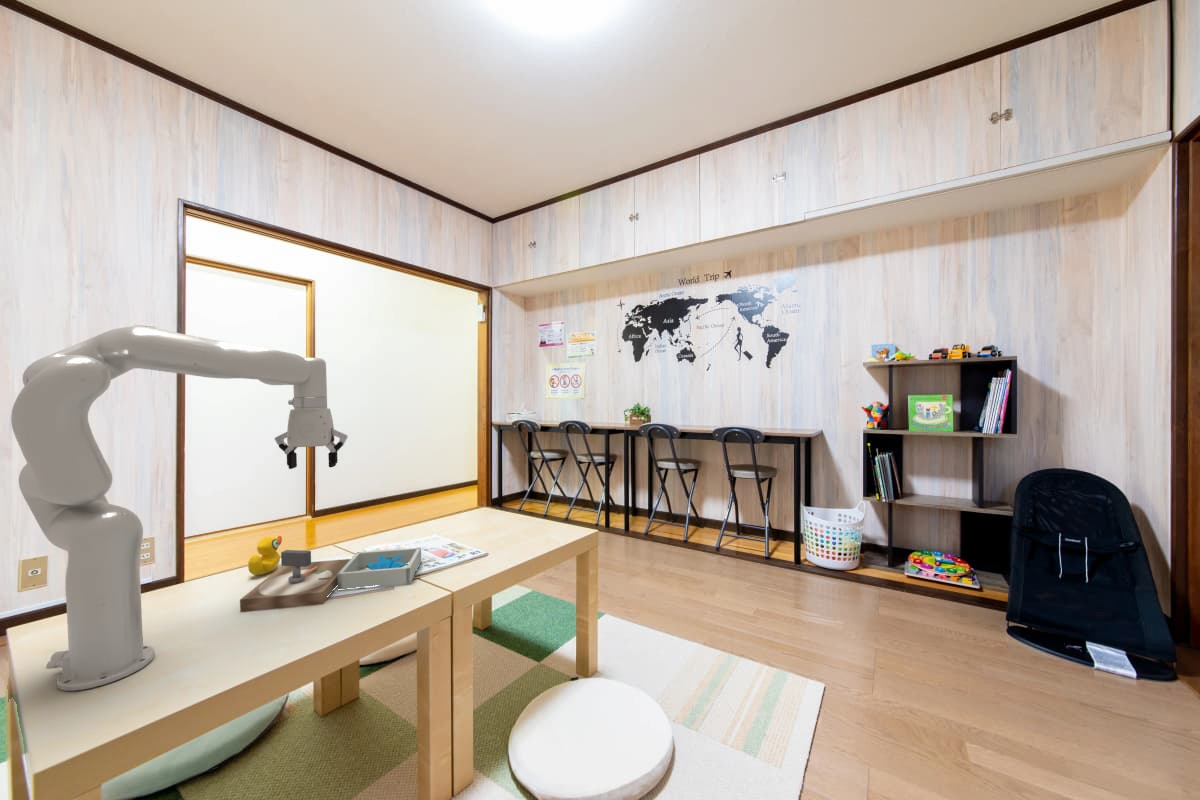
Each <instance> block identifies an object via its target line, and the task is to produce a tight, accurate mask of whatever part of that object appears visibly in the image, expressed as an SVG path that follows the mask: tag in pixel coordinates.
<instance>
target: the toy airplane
mask: <svg viewBox="0 0 1200 800" xmlns="http://www.w3.org/2000/svg"><path fill="white" fill-rule="evenodd" d="M403 556H404V555H402V556H397V557H395V559H392V558H389V559H388V558H386V559H384V558H385V557H383V556H378V558H379V560H380V561H381V562H377V563H370V564H367V566H366V567H368V570H377V569H389V568H401V567H406V565H407V564H406V563H401V562H395V561H397V560H398V559H400V558H402V557H403Z"/></svg>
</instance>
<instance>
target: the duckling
mask: <svg viewBox="0 0 1200 800" xmlns="http://www.w3.org/2000/svg"><path fill="white" fill-rule="evenodd" d="M282 540H283V537H282V536H281V535H278V536H277V537H275V536H266V537H264V538H261V539H260V541H259V542H258V544H257V547H256V550H257V551H256V552H257V553H258V554H254V555H252V556H251V557H250V558H249V559H248V567H247V568H248V572H249V573H250V574H252V575H254V576H262V575H266V574H268V573H270V572H272V571H274V570H275V569H276V568H277V567H278V565H279V562H281V561H280V560H281V554H280V553H279V552H277V550H278V549H279V546H281V544H282ZM259 554H260V555H261V556H260V555H259Z"/></svg>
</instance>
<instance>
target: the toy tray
mask: <svg viewBox="0 0 1200 800" xmlns="http://www.w3.org/2000/svg"><path fill="white" fill-rule="evenodd" d="M402 555H404V556H403V557H402V558H400V559H398V560H397V561H395V562H401V563H408V562H409V564H407V565H406V566H403V567H400V568H389V569H377V570H371V569H369V568H368V567H366V566H367V564H370V563H377V562H381V561H380V560H379V558H378V556H383V557H385V558H384V559H386V558H388V559H389V558H392V559H395V557H397V556H402ZM350 559H351V560H350V561H349V562H348V563H347V564H346V565H345V566H344V567H343V568H342V570H341V571H340V572H339V573H338V574H337V583H338V587H337V590H338V589H347V588H356V587H364V586H373V585H374V586H375V585H380V586H387V587H398V586H406V585H408V586H409V585H411V584H412V581H413V579H414V577H415V576H414V574H415V571H416V569H417V567H418V565H419V564H420V565H421V563H422V548H421V547H420V546H419V547H410V548H407V547H406V548H396V549H395V548H394V549H385V550H372V551H358V552H356V553H355V554H354V555H353V556H352V557H351V558H350ZM420 562H421V563H420ZM367 568H368V569H367ZM360 569H367V570H360ZM415 575H416V574H415Z"/></svg>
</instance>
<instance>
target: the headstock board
mask: <svg viewBox="0 0 1200 800" xmlns="http://www.w3.org/2000/svg"><path fill="white" fill-rule="evenodd" d="M350 560H351V558H346V559H335V560H334V559H333V560H321V561H319V560H318V561H311V564H310V565H308V566H307V567H301V574H303V573H305V572H307V571H309V570H311V569H312V568H314V567H318V569H316V570H315V571H313V572H311V573H309V574H307V575H305V579H304V580H303V581H300V582H297V583H289V581H288V578H289V577H291V576H293V574H292V566H280V567H279V568H277V570H275V571H274V572H273V573H271V574H270V575H269V576H267V577H266V578H264V579H263V581H261V582H260V583H259V584H257V585H256V586H255V587H254V588H253V589H251V590H250V591H249V592H248V593H246V594H245V595H244V596H242V597H241V598H240V599H239V609H240V610H239V611H240V613H242V612H253V611H263V610H265V611H266V610H274V609H285V607H286V608H294V607H295V608H296V607H305V606H315V605H316V606H317V605H323V604H324V603H325V602H326V601H327V600H328V599H327V596H328V595H329V594H330V593H331V592H332V590H333V589H334V588H335V587H336V586H337V585H338V583H337V574H338V573H339V572H340V571H341V570H342V568H343V567H344V566H345V565H346V564H347V563H348V562H349V561H350Z"/></svg>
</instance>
